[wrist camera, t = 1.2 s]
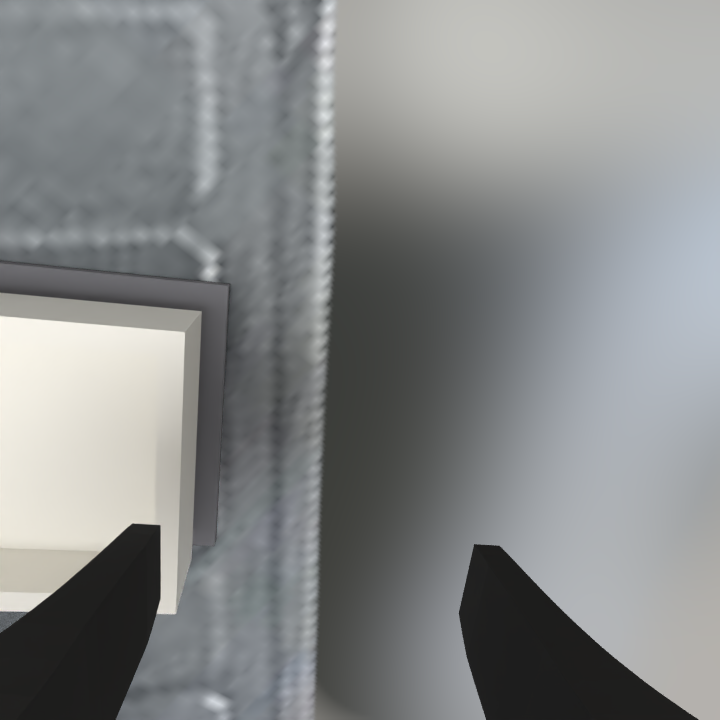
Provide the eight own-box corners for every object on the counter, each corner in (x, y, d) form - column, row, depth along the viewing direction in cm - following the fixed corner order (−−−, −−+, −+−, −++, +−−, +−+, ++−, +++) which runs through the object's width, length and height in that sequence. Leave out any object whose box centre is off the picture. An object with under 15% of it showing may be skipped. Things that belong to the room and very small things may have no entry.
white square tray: (198, 536, 25) (175, 614, 20) (-62, 526, 23) (-150, 608, 19) (208, 303, 22) (185, 332, 17) (-88, 274, 20) (-200, 298, 16)
